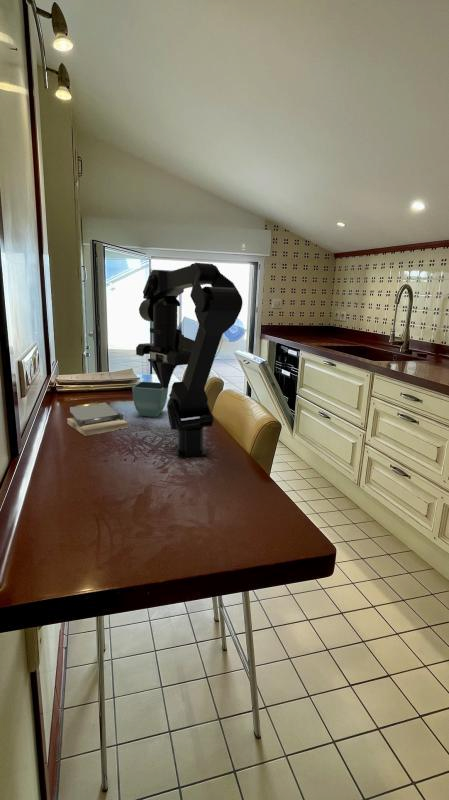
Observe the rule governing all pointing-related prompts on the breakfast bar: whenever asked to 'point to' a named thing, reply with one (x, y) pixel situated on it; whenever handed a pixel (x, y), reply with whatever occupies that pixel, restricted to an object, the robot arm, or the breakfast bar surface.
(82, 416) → the flat square panel
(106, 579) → the breakfast bar surface
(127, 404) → the breakfast bar surface
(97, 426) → the pale wooden slab
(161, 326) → the robot arm
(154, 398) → the flower pot
